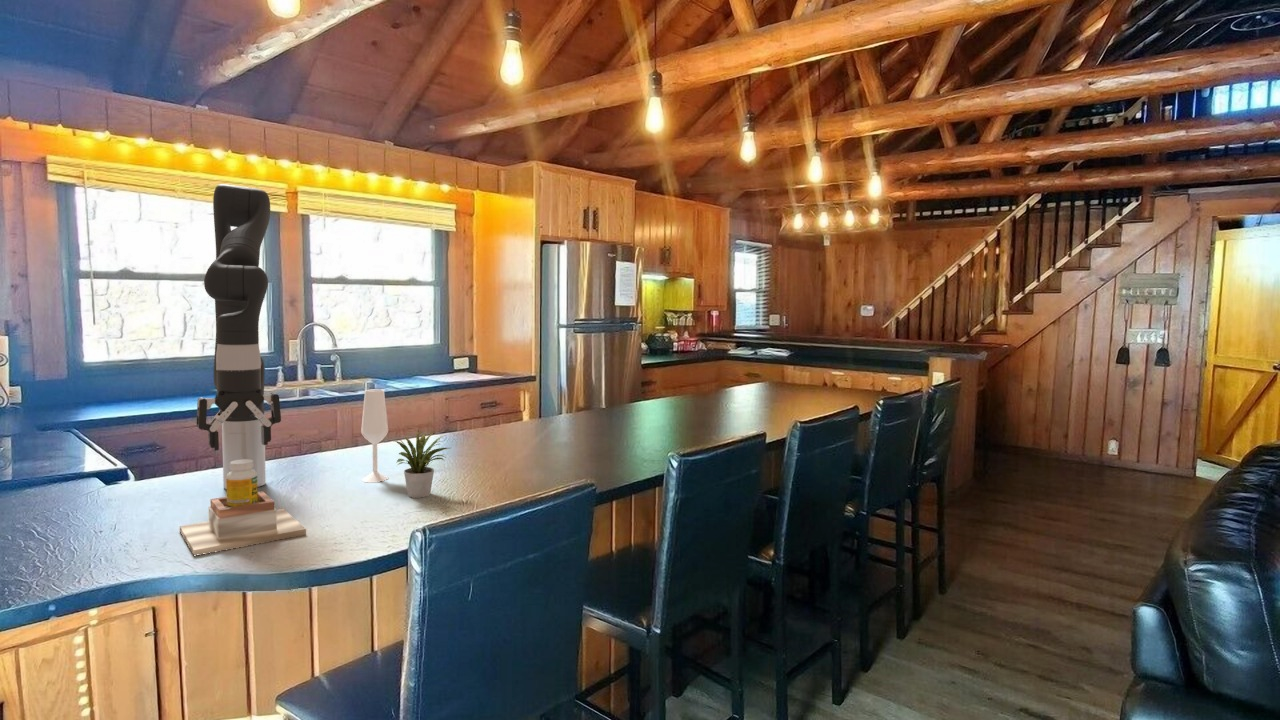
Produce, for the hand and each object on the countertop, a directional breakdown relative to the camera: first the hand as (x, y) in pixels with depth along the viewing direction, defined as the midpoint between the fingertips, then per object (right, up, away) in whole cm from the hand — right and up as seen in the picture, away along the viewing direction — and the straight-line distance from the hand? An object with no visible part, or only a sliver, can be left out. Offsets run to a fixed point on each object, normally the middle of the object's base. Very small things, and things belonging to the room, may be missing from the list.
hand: (240, 447), depth 132 cm
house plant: (+25, -16, +30) cm, 42 cm away
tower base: (0, -18, +1) cm, 18 cm away
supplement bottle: (0, -13, +1) cm, 13 cm away
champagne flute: (+9, -15, +45) cm, 48 cm away
